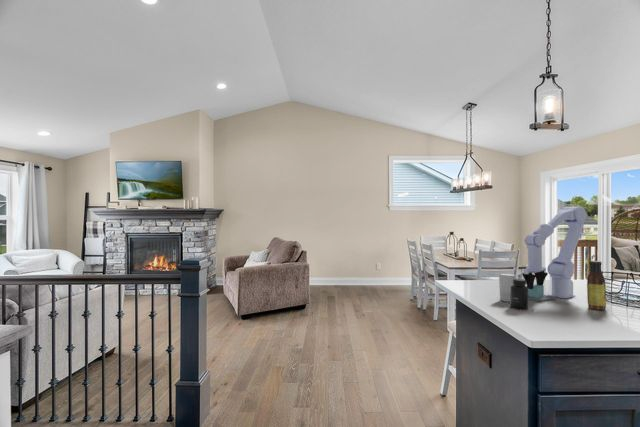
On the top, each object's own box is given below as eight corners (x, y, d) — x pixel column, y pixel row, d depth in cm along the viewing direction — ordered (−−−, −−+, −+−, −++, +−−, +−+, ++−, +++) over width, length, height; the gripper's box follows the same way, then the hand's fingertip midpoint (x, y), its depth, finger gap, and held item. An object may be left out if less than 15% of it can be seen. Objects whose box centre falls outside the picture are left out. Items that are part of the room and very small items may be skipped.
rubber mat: (530, 294, 181) (530, 292, 181) (555, 299, 171) (555, 297, 171) (515, 297, 176) (515, 294, 176) (540, 302, 165) (540, 300, 165)
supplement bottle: (510, 308, 155) (510, 280, 155) (510, 305, 161) (510, 277, 161) (528, 310, 151) (528, 281, 151) (528, 306, 157) (528, 278, 157)
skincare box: (517, 301, 167) (517, 274, 167) (512, 302, 164) (512, 275, 164) (503, 298, 172) (503, 273, 172) (498, 300, 169) (498, 274, 169)
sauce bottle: (609, 311, 150) (609, 262, 150) (592, 310, 151) (592, 262, 151) (600, 307, 156) (600, 260, 156) (584, 306, 158) (583, 260, 158)
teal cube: (533, 294, 177) (533, 284, 177) (543, 296, 172) (543, 285, 172) (526, 295, 174) (526, 285, 174) (537, 297, 170) (537, 286, 170)
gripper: (535, 257, 180) (535, 284, 180) (517, 259, 173) (517, 288, 173) (550, 258, 174) (550, 287, 174) (532, 261, 167) (532, 290, 167)
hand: (535, 288), depth 173 cm, fingers open, 7 cm apart
